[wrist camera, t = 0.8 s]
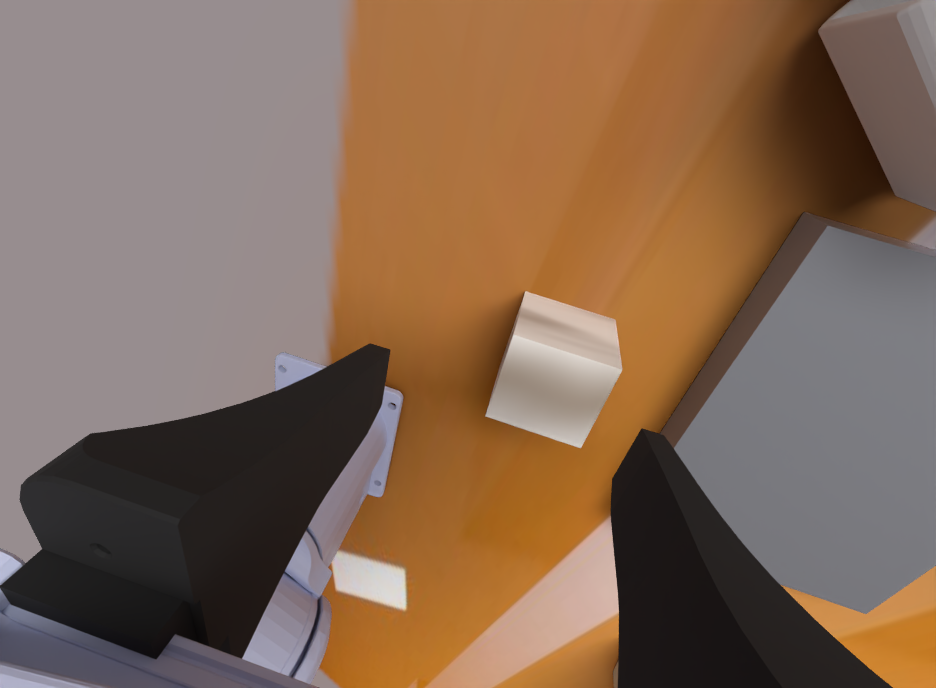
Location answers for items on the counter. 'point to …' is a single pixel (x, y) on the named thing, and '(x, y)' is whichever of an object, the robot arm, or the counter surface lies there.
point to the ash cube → (556, 370)
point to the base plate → (825, 415)
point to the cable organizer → (891, 85)
